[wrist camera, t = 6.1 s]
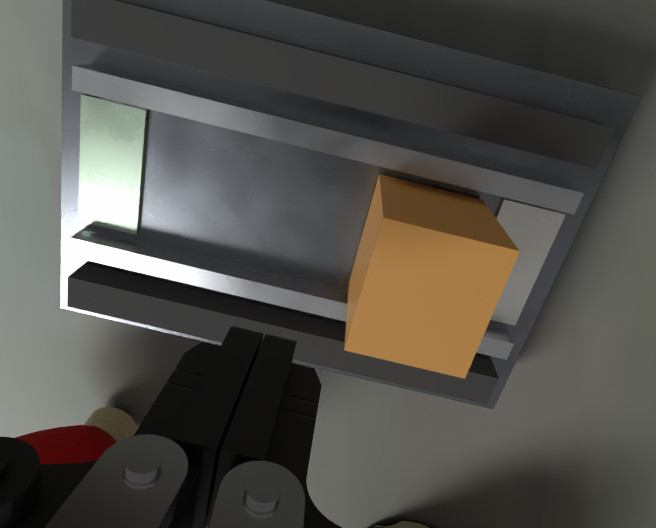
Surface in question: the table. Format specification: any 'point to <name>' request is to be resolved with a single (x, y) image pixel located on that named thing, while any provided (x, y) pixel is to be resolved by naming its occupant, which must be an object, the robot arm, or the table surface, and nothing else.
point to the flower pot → (405, 525)
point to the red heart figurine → (82, 437)
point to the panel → (300, 170)
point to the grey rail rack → (333, 86)
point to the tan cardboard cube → (426, 277)
